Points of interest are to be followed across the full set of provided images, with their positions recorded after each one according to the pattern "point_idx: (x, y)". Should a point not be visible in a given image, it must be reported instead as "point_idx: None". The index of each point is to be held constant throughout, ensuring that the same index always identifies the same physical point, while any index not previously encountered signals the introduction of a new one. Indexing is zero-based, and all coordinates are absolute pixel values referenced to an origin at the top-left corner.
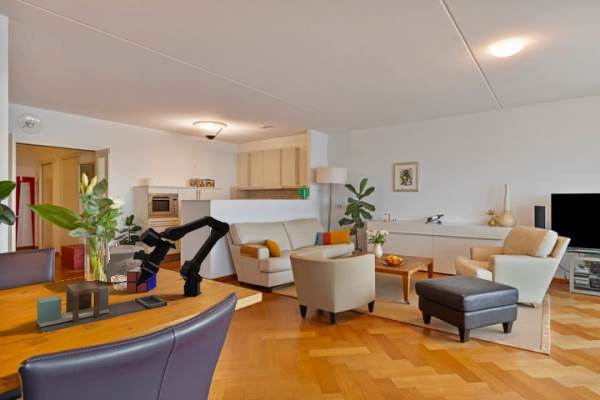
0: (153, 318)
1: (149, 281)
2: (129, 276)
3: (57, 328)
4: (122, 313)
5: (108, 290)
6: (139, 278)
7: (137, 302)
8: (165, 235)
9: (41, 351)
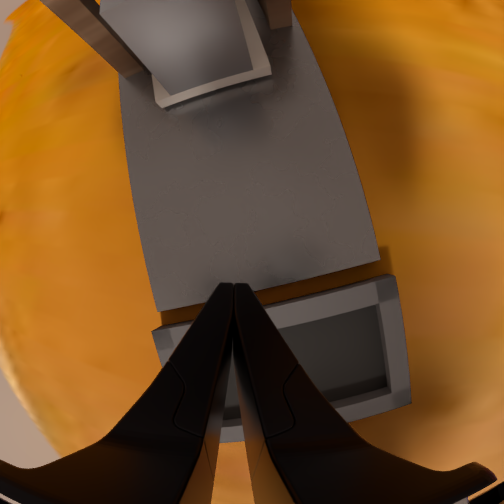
0: (40, 317)
1: None
2: None
3: None
4: (133, 180)
5: (112, 27)
6: (175, 354)
7: (341, 287)
8: None
9: (16, 33)
